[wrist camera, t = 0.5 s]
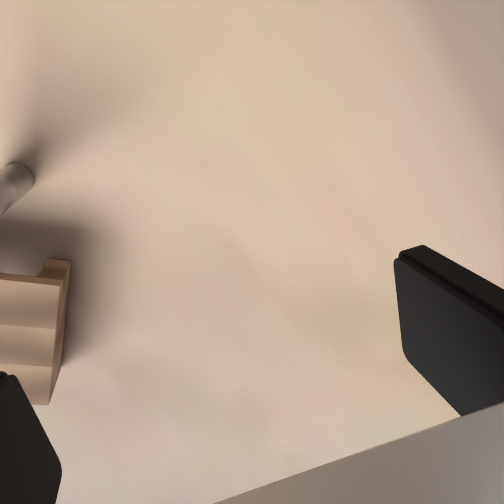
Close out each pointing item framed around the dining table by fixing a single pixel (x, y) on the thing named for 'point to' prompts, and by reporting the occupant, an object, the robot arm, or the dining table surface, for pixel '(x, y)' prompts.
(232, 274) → the dining table surface
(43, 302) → the bridge
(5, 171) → the long pin
